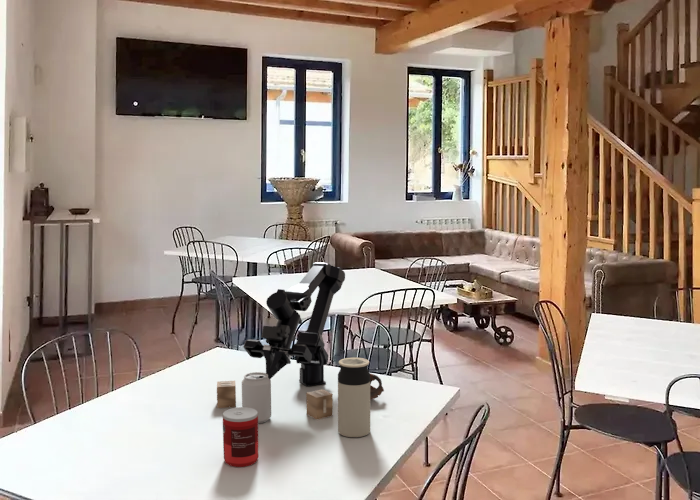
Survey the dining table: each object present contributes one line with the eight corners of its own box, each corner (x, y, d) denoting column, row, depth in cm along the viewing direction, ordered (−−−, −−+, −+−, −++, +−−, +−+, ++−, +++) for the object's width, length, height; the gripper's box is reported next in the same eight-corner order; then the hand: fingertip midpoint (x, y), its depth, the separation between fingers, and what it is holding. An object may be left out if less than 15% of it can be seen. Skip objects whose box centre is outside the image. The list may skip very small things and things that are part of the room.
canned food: (240, 450, 159) (239, 404, 157) (266, 458, 154) (265, 411, 153) (216, 462, 152) (214, 414, 151) (242, 470, 148) (241, 421, 147)
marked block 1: (235, 401, 193) (235, 380, 193) (235, 407, 188) (235, 385, 188) (217, 402, 192) (216, 381, 192) (217, 408, 187) (216, 386, 187)
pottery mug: (385, 395, 199) (389, 375, 194) (375, 418, 192) (378, 399, 187) (346, 382, 202) (349, 362, 197) (335, 404, 195) (337, 384, 190)
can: (266, 425, 174) (265, 379, 173) (238, 423, 176) (237, 378, 174) (275, 415, 181) (274, 371, 180) (248, 413, 183) (247, 369, 182)
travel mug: (359, 440, 164) (359, 367, 162) (331, 434, 168) (331, 362, 166) (376, 430, 171) (376, 359, 169) (349, 424, 175) (348, 355, 173)
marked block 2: (322, 410, 185) (322, 388, 185) (332, 416, 181) (332, 393, 180) (306, 414, 182) (306, 392, 182) (316, 420, 178) (316, 397, 178)
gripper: (245, 310, 189) (225, 360, 181) (306, 315, 182) (289, 367, 174) (260, 332, 198) (241, 380, 189) (319, 337, 191) (302, 388, 182)
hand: (267, 378), depth 183 cm, fingers closed
